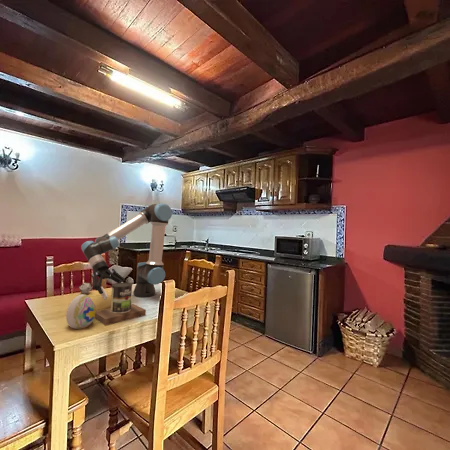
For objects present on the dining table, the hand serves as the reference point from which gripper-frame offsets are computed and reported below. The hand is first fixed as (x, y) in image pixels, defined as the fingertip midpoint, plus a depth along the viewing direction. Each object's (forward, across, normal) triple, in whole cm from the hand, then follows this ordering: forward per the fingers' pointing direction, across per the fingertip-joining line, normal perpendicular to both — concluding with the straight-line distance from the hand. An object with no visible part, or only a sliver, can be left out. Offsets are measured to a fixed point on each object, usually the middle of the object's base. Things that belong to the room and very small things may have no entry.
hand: (116, 295), depth 140 cm
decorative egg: (+6, +18, -10) cm, 22 cm away
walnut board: (+10, 0, -6) cm, 11 cm away
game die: (-27, -20, -44) cm, 55 cm away
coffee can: (+8, -1, -4) cm, 9 cm away
